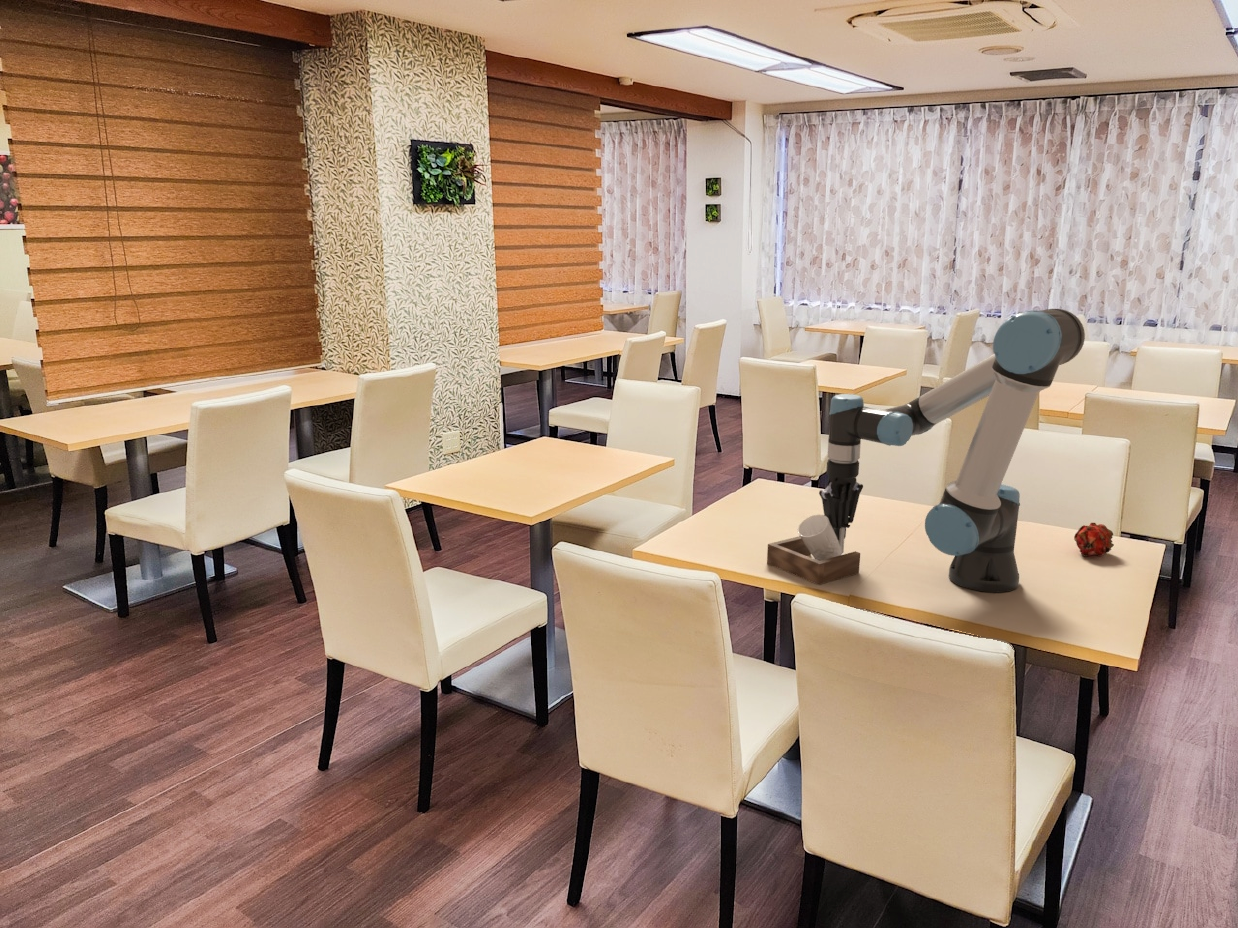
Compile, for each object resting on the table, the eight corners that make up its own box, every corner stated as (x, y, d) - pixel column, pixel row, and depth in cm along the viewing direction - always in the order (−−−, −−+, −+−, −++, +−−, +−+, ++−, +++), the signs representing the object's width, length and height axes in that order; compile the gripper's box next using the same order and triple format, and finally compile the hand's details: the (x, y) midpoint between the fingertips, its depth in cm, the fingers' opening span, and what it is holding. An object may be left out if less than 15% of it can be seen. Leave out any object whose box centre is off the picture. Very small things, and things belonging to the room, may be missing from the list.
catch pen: (858, 573, 219) (860, 553, 218) (818, 584, 212) (819, 564, 211) (806, 553, 233) (807, 534, 232) (766, 563, 226) (767, 543, 224)
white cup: (845, 561, 221) (829, 530, 217) (814, 570, 224) (797, 540, 220) (843, 540, 228) (828, 510, 223) (813, 549, 231) (797, 520, 226)
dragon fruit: (1101, 553, 238) (1087, 572, 230) (1073, 530, 241) (1059, 548, 232) (1125, 533, 233) (1112, 552, 224) (1097, 510, 235) (1083, 527, 227)
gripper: (850, 451, 228) (844, 542, 234) (812, 460, 221) (807, 552, 228) (873, 458, 222) (867, 550, 228) (836, 467, 215) (830, 562, 222)
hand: (837, 551), depth 228 cm, fingers closed
